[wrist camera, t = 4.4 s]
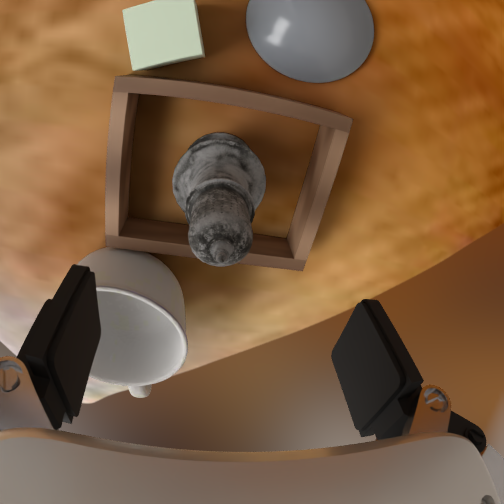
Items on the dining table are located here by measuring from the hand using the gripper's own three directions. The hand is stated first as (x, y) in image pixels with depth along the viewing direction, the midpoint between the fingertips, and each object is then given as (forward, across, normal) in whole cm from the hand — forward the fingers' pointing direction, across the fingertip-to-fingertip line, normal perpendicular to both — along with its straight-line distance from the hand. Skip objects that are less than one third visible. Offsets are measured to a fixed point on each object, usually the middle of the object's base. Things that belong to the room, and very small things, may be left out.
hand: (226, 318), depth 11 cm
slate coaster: (+14, -4, -13) cm, 20 cm away
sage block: (+14, +5, -10) cm, 18 cm away
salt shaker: (+15, 0, -1) cm, 15 cm away
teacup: (+15, +6, +12) cm, 20 cm away
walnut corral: (+14, 0, -1) cm, 14 cm away
